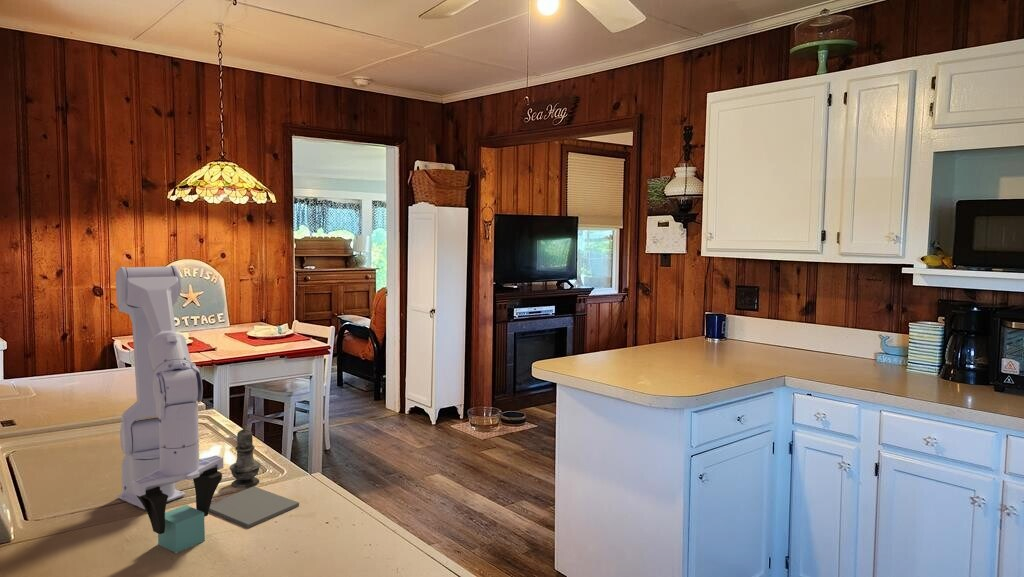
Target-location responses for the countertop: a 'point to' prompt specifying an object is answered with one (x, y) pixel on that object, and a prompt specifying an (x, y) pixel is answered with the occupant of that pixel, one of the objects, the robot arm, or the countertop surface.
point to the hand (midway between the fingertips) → (181, 523)
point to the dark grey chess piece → (245, 461)
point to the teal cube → (182, 529)
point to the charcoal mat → (251, 506)
